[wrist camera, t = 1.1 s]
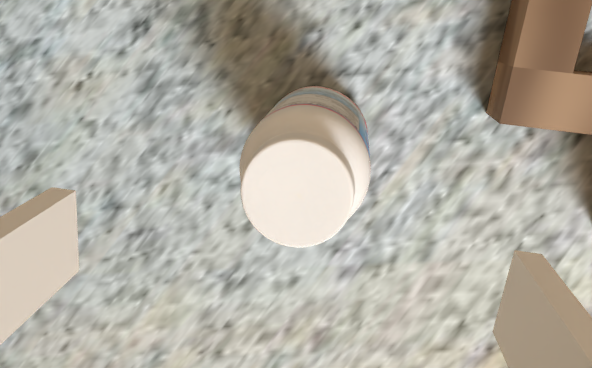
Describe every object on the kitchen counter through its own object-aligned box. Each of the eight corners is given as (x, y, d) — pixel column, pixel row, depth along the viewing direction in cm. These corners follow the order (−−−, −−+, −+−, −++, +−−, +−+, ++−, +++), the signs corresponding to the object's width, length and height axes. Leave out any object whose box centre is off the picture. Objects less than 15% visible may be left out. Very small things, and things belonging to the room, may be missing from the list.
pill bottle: (338, 198, 32) (329, 289, 21) (251, 153, 32) (198, 224, 21) (386, 112, 30) (402, 167, 19) (294, 65, 30) (258, 93, 19)
